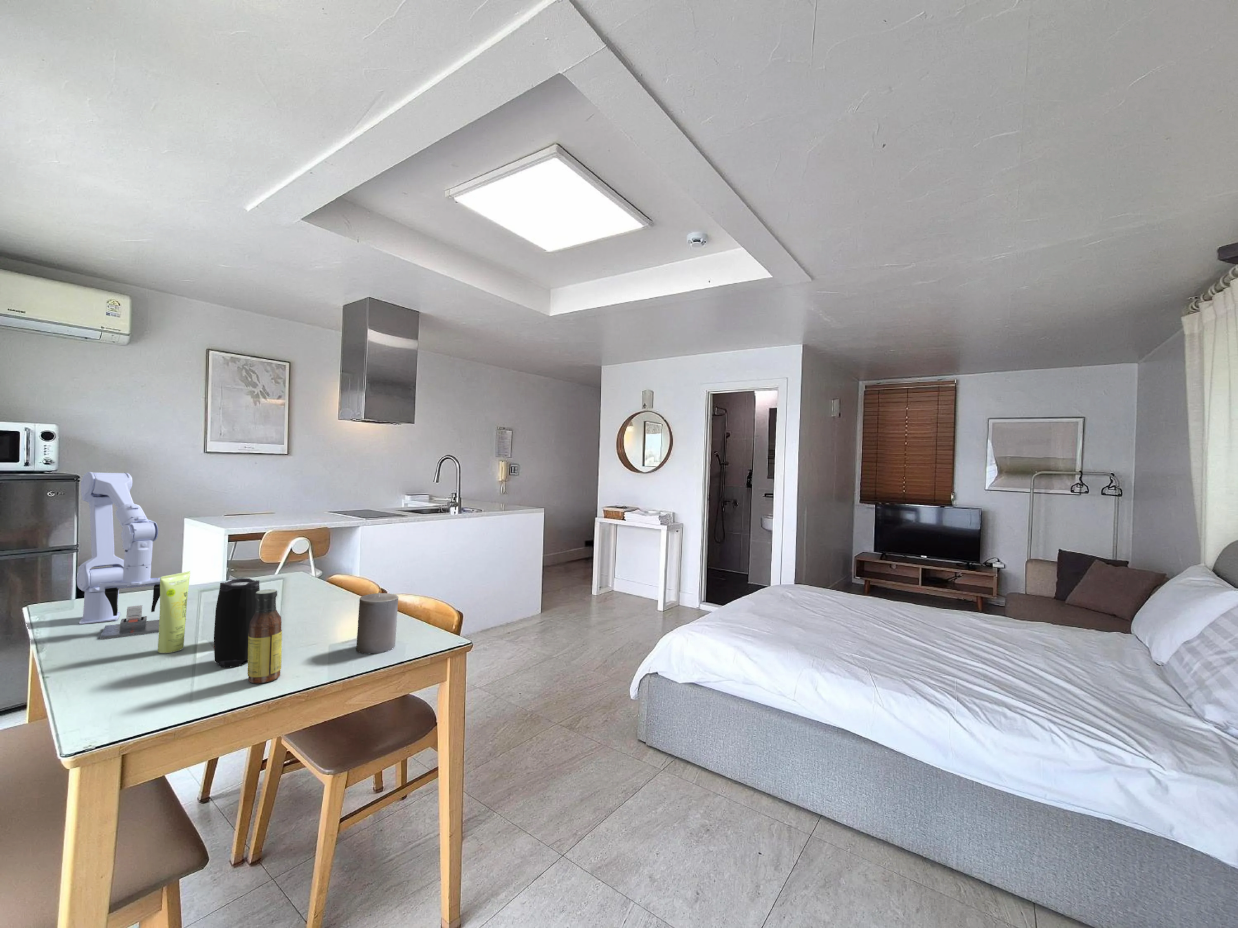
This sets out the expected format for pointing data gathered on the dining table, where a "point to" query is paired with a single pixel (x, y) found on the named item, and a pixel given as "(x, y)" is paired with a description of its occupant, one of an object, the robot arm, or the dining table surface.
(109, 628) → the grey slotted base
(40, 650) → the dining table surface
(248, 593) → the portable speaker
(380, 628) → the pillar candle
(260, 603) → the sauce bottle
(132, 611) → the column
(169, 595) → the tube
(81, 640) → the dining table surface
